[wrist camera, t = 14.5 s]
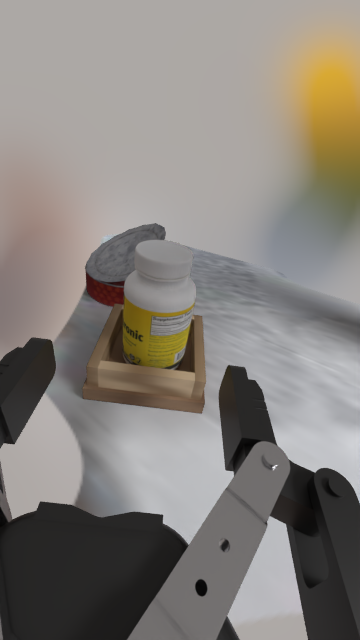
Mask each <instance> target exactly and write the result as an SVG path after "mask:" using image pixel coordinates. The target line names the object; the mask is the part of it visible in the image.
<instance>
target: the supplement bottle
mask: <svg viewBox="0 0 360 640" xmlns="http://www.w3.org/2000/svg"><path fill="white" fill-rule="evenodd" d="M192 263H193V252H192V251H191V250H190V249H189V248H187V247H186V246H184V245H181V244H179V243H175V242H172V241H166V240H147V241H143V242H141V243H139V244H138V245H137V246H136V248H135V260H134V264H135V269H136V270H135V271H133V272H132V273H131V274H130V275H129V276H128V277H127V278H126V281H125V284H124V307H123V357H124V360H125V361H126V363H127V364H132V365H140V366H147V367H155V368H162V369H170V370H176V369H177V368H178V367H179V366H180V364H181V363H182V361H183V358H184V354H185V349H186V344H187V339H188V334H189V329H190V324H191V319H192V314H193V309H194V304H195V300H196V286H195V284H194V282H193V281H192V279H191V278H190V277H189V276H190V274H191V269H192Z"/></svg>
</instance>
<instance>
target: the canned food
mask: <svg viewBox="0 0 360 640" xmlns="http://www.w3.org/2000/svg"><path fill="white" fill-rule="evenodd" d="M165 235H166V232H165V229H164V227H162V226H160V225H158V224H156V223H155V224H149V225H142V226H139V227H137V228H133V229H129V230H127V231H126V232H124V233H122V234H119V235H117V236H114V237H113V238H112V239H110V240H109V241H107V242H105V243H103V244H102V245H101V246H100V247H99V248H98V249H97V250H95V251H94V252H93V253H92V254H91V256H90V258H89V260H88V261H87V264H86V267H85V269H86V284H87V292H88V294H89V295H90V296H91V297H92V298H93V299H94V300H96V301H98V302H100V303H102V304H105V305H107V306H112V307H114V304H122V305H124V284H125V281H126V278H127V277H128V276H129V275H130V274H131V273H132V272H133V271H135V270H136V269H135V264H134V260H135V248H136V246H137V245H138V244H139V243H141V242H143V241H147V240H164V239H165Z"/></svg>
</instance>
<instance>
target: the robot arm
mask: <svg viewBox="0 0 360 640" xmlns="http://www.w3.org/2000/svg"><path fill="white" fill-rule="evenodd" d="M55 369H56V363H55V356H54V350H53V344H52V341H51V340H48V339H41V338H31V339H30V340H29V341H28V342H27V344H26V345H25V346H24V347H23V348H19V347H17V348H16V349H14V350H12V351H11V352H9V353H8V354H6V355H5V356H4V357H3V359H2V360H1V361H0V448H1V446H2V445H3V443H7V444H15V442H16V440H17V439H18V437H19V435H20V434H21V432H22V430H23V429H24V427H25V425H26V423H27V422H28V420H29V418H30V416H31V415H32V413H33V411H34V410H35V408H36V406H37V404H38V403H39V401H40V399H41V397H42V396H43V394H44V392H45V390H46V389H47V387H48V385H49V384H50V382H51V380H52V378H53V376H54V373H55ZM219 408H220V418H221V428H222V438H223V449H224V459H225V469H226V470H227V471H234V478H233V479H232V481H231V482H230V484H229V485H228V487H227V488H226V489H225V490H224V492H223V493H222V495H221V496H220V498H219V500H218V501H217V503H216V504H215V506H214V507H213V509H212V510H211V512H210V513H209V515H208V517H207V518H206V520H205V521H204V523H203V524H202V526H201V527H200V529H199V530H198V532H197V534H196V535H195V537H194V538H193V540H192V541H191V543H190V544H189V545H188V543H187V542H186V541H185V540H184V539H183V538H182V536H181V535H179V534H178V533H177V532H176V531H175V530H173V529H172V528H170V527H169V526H167V525H165V524H163V515H160V514H151V513H141V512H129V513H124V514H119V515H113V516H108V517H102V518H100V517H97V516H94V515H92V514H90V513H88V512H86V511H83V510H81V509H79V508H77V507H75V506H72V505H67V504H57V503H49V502H40V503H39V506H38V508H37V511H34V512H30V513H27V514H24V515H22V516H19V517H17V518H15V519H13V520H12V516H11V512H10V508H9V505H8V502H7V498H6V492H5V486H4V481H3V475H2V469H1V464H0V640H240V639H239V638H238V636H237V634H236V632H235V630H234V628H233V626H232V624H231V622H230V621H229V619H228V617H227V615H228V612H229V610H230V608H231V606H232V604H233V601H234V599H235V597H236V595H237V593H238V590H239V588H240V586H241V584H242V582H243V579H244V577H245V575H246V573H247V571H248V569H249V566H250V564H251V562H252V560H253V558H254V555H255V553H256V551H257V549H258V547H259V544H260V542H261V540H262V538H263V536H264V533H265V531H266V528H267V520H268V518H269V516H271V517H273V518H275V519H277V520H279V521H281V522H283V523H285V524H286V526H287V531H288V537H289V542H290V547H291V552H292V558H293V563H294V568H295V573H296V579H297V584H298V589H299V594H300V600H301V605H302V610H303V615H304V621H305V626H306V631H307V636H308V640H360V503H359V500H358V498H357V496H356V493H355V491H354V489H353V487H352V486H351V484H350V483H349V482H348V480H347V479H346V478H345V477H343V476H342V475H341V474H340V473H338V472H336V471H335V470H332V469H329V468H321V469H319V470H318V471H317V472H316V473H315V472H312V471H310V470H308V469H306V468H303V467H301V466H299V465H297V464H295V463H293V462H291V461H290V460H289V459H288V457H287V456H286V454H285V453H284V451H283V450H282V449H281V448H279V447H278V446H277V443H276V440H275V437H274V433H273V429H272V426H271V422H270V418H269V414H268V411H267V407H266V403H265V402H264V396H263V392H262V389H261V388H260V387H259V385H258V384H257V382H256V381H255V380H249V379H248V377H247V372H246V369H245V367H238V366H231V365H228V366H227V369H226V372H225V375H224V377H223V380H222V383H221V386H220V390H219Z"/></svg>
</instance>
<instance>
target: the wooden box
mask: <svg viewBox="0 0 360 640" xmlns="http://www.w3.org/2000/svg"><path fill="white" fill-rule="evenodd" d="M123 307H124V305H122V304H114V307H113V309H112V311H111V313H110V316H109V318H108V320H107V322H106V324H105V327H104V329H103V331H102V333H101V335H100V338H99V340H98V342H97V344H96V346H95V349H94V351H93V353H92V355H91V357H90V360H89V362H88V364H87V366H86V370H87V379H86V381H85V383H84V386H83V388H82V390H83V399H89V400H97V401H106V402H114V403H122V404H130V405H138V406H146V407H154V408H162V409H170V410H178V411H186V412H194V413H202V411H203V408H204V404H205V399H204V387H205V384H206V375H205V357H204V339H203V321H202V316H199V315H192V319H191V324H190V329H189V334H188V339H187V344H186V349H185V354H184V358H183V361H182V363H181V364H180V366H179V367H178V368H177V369H176V370H170V369H162V368H155V367H147V366H140V365H132V364H127V363H126V361H125V360H124V357H123Z"/></svg>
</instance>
